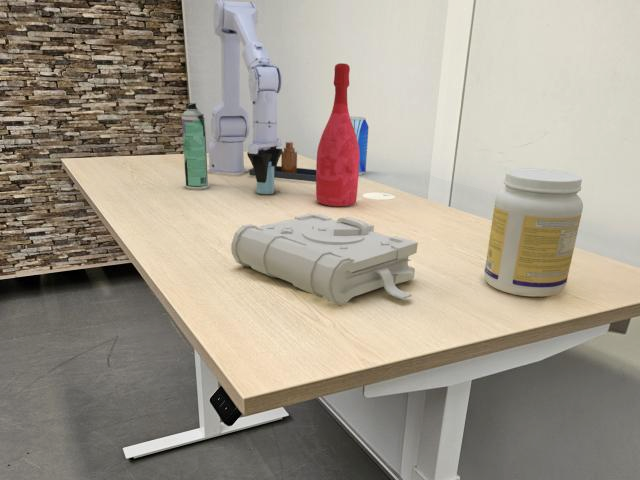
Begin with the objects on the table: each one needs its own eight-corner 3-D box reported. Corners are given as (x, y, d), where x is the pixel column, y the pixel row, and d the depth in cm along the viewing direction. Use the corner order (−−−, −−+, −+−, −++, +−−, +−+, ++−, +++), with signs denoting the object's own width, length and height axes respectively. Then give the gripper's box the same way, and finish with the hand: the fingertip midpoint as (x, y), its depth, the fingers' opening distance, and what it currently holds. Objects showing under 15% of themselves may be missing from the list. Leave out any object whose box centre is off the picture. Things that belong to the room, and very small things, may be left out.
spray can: (210, 186, 148) (206, 103, 140) (204, 190, 143) (200, 104, 135) (189, 184, 148) (184, 102, 140) (183, 189, 143) (177, 103, 135)
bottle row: (255, 173, 163) (255, 140, 159) (262, 171, 166) (262, 138, 163) (293, 177, 159) (293, 143, 156) (299, 174, 163) (299, 142, 159)
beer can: (365, 178, 166) (369, 119, 159) (336, 176, 166) (339, 118, 159) (364, 173, 173) (368, 116, 167) (336, 171, 173) (339, 115, 167)
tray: (249, 177, 161) (249, 169, 160) (262, 171, 169) (262, 164, 168) (320, 184, 155) (321, 176, 154) (331, 178, 163) (331, 171, 162)
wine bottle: (307, 203, 134) (311, 62, 121) (327, 196, 142) (332, 62, 129) (345, 209, 130) (353, 64, 117) (363, 202, 138) (372, 64, 125)
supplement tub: (576, 285, 90) (602, 175, 83) (545, 306, 81) (571, 186, 74) (503, 266, 97) (521, 164, 90) (468, 283, 89) (484, 172, 82)
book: (357, 323, 74) (361, 267, 71) (228, 267, 92) (226, 220, 88) (444, 288, 86) (450, 239, 83) (315, 245, 104) (317, 203, 101)
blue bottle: (253, 193, 141) (253, 155, 137) (261, 189, 145) (260, 153, 141) (270, 195, 140) (270, 157, 136) (277, 191, 144) (277, 154, 140)
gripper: (268, 126, 128) (268, 187, 134) (292, 120, 141) (291, 177, 146) (239, 123, 130) (241, 184, 136) (265, 118, 143) (265, 174, 148)
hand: (265, 180), depth 141 cm, fingers closed on blue bottle, 4 cm apart
